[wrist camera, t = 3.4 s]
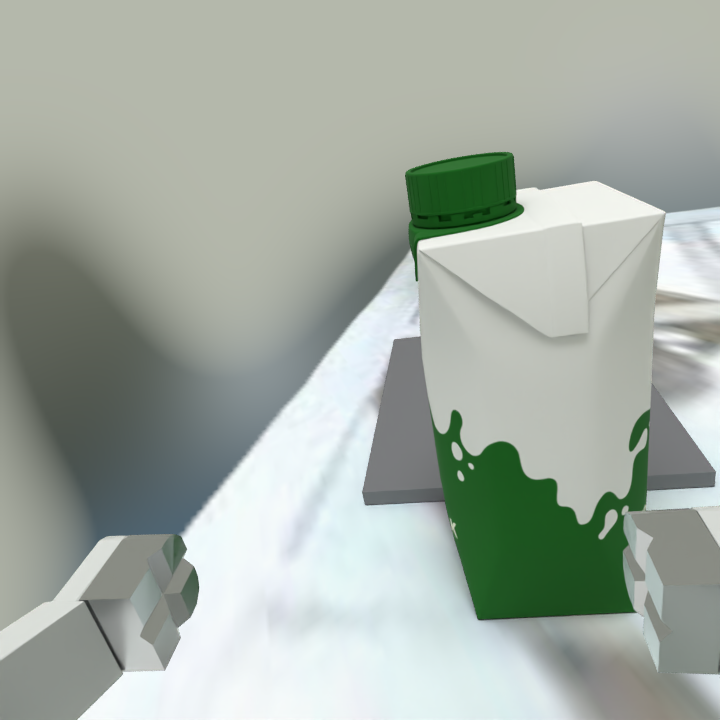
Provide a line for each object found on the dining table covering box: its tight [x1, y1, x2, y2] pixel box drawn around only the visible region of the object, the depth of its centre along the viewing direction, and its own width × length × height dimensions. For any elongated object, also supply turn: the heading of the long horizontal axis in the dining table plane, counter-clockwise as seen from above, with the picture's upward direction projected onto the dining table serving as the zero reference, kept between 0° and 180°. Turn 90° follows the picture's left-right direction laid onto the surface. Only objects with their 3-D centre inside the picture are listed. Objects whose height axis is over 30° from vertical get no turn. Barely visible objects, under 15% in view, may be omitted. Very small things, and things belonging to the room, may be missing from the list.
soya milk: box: [405, 152, 666, 619], centre depth 24 cm, size 9×9×20 cm
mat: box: [362, 337, 716, 505], centre depth 43 cm, size 20×24×1 cm
